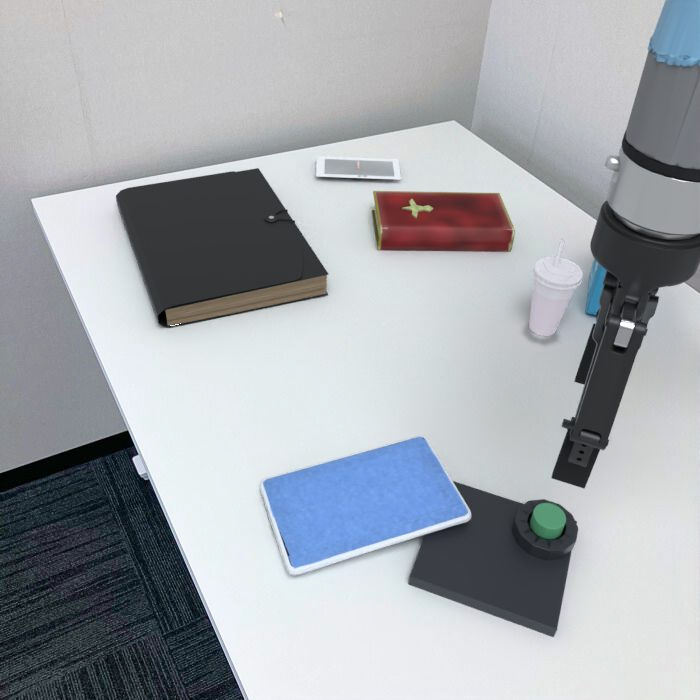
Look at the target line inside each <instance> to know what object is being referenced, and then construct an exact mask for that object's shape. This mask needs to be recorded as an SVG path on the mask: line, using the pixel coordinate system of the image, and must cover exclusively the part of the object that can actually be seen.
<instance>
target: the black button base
mask: <svg viewBox="0 0 700 700" xmlns="http://www.w3.org/2000/svg"><path fill="white" fill-rule="evenodd" d="M452 481H453V483H454V484H455V486H456V488H457V489H458V491H459V492H460V494H461V496H462V497H463V499H464V501H465V502H466V504H467V506H468V507H469V509H470V511H471V519H470V520H469V521H468V522H465V523H462V524H459V525H455V526H451V527H448V528H445V529H442V530H439V531H435V532H432V533H429V534H426V535H423V536H424V537H423V539H422V542H421V544H420V547H419V549H418V553H417V555H416V558H415V561H414V563H413V565H412V569H411V571H410V574H409V578H408V584H407V585H409V586H410V587H414V588H417V589H420V590H422V591H425V592H428V593H431V594H433V595H436V596H439V597H441V598H444V599H447V600H449V601H452V602H455V603H458V604H460V605H464V606H465V607H469V608H472V609H474V610H477V611H480V612H483V613H485V614H487V615H488V614H489V615H491V616H493V617H496V618H499V619H501V620H504V621H507V622H510V623H513V624H516V625H518V626H521V627H524V628H527V629H529V630H532V631H535V632H537V633H540V634H543V635H545V636H548V637H551V638H554V637H555V636H556V633H557V631H558V626H559V622H560V615H561V610H562V604H563V600H564V594H565V588H566V583H567V578H568V572H569V567H570V562H571V557H572V551H573V549H574V547H575V545H576V542H577V540H578V539H577V538H578V533H579V526H578V521H577V520H575V518H574V515H573V514H572V513H571V512H570V511H569V510H568V509H566V508H565V507H564V506H563V505H561V504H560V503H558V502H554V501H551V500H549V499H545V498H543V499H541V498H540V499H532V500H528V501H526V502H524V503H522V502H520V501H516V500H513V499H510V498H508V497H503V496H501V495H498V494H495V493H491V492H489V491H485V490H482V489H480V488H475V487H473V486H470V485H467V484H465V483H461V482H458V481H455V480H452ZM541 503H551V504H554V505H556V506H558V507H559V508H561V509H562V510H563V512H564V513H565V516H566V523H565V525H564V528H563V531H562V533H561V535H560V536H559V537H557V538H555V539H544V538H541V537H539V536H538V535H536V534H535V533H534V532H533V531H532V529H531V526H530V520H531V517H532V514H533V511H534V508H535V507H536V506H537V505H539V504H541Z"/></svg>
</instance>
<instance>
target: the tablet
mask: <svg viewBox="0 0 700 700" xmlns="http://www.w3.org/2000/svg"><path fill="white" fill-rule="evenodd" d="M453 481H454V480H453V479H452V478H451V476H450V474H449V473H448V471H447V469H446V467H445V466H444V465H443V463H442V461H441V460H440V458H439V456H438V454H437V453H436V451H435V449H434V448H433V446H432V444H431V443H430V441H429V439H428V438H426V437H425V436H422V435H417V436H413V437H409V438H405V439H402V440H399V441H395V442H392V443H388V444H385V445H381V446H377V447H374V448H369V449H367V450H363V451H359V452H356V453H351V454H348V455H344V456H342V457H341V456H340V457H337V458H333V459H330V460H326V461H324V462H320V463H316V464H312V465H308V466H306V467H302V468H298V469H294V470H291V471H287V472H284V473H280V474H276V475H273V476H269V477H266V478H264V479H262V480H261V482H260V483H259V491H260V495H261V498H262V500H263V504H264V507H265V511H266V513H267V516H268V519H269V522H270V525H271V528H272V531H273V535H274V537H275V541H276V543H277V546H278V549H279V552H280V555H281V558H282V561H283V565H284V567H285V569H286V572H287V573H288V574H289V575H290V576H294V577H295V576H301V575H304V574H307V573H310V572H313V571H315V570H318V569H322V568H324V567H327V566H330V565H331V566H332V565H334V564H335V563H339V562H343V561H345V560H349V559H352V558H355V557H359V556H361V555H364V554H368V553H371V552H374V551H376V550H381V549H383V548H388V547H390V546H394V545H397V544H400V543H403V542H406V541H409V540H413V539H415V538H416V539H417V538H419V537H423V536H425V535H426V534H429V533H432V532H435V531H439V530H442V529H445V528H448V527H451V526H455V525H459V524H462V523H465V522H468V521H469V520H470V519H471V511H470V509H469V507H468V506H467V504H466V502H465V501H464V499H463V497H462V496H461V494H460V492H459V491H458V489H457V488H456V486H455V484H454V483H453Z"/></svg>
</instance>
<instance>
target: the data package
mask: <svg viewBox="0 0 700 700" xmlns="http://www.w3.org/2000/svg"><path fill="white" fill-rule="evenodd" d="M605 274H606V270H605V269H604V268H602V267H601V266H600V265H599V264H598V263H597V261H596V260H595V259H594V258H593V262H592V266H591V269H590V273H589V280H588V287H587V296H586V304H585V305H586V306H585V313H586V314H588V315H593V316H596V313H597V311H598V309H600V305H599V299H600V295H601V292H602V289H603V286H604V285H603V281H604V277H605Z"/></svg>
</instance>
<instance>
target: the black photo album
mask: <svg viewBox="0 0 700 700" xmlns="http://www.w3.org/2000/svg"><path fill="white" fill-rule="evenodd" d="M115 201H116V205H117V208H118V210H119V214H120V216H121V218H122V220H121V221H122V223H123V226H124V228H125V231H126V234H127V237H128V240H129V242H130V245H131V248H132V251H133V255H134V257H135V260H136V263H137V265H138V269H139V272H140V274H141V278H142V280H143V283H144V286H145V289H146V292H147V295H148V297H149V301H150V304H151V307H152V310H153V312H154V314H155V318H156V321H157V324H159V325H161V326H162V327H164V328H165V327H166V328H172V327H171V326H170V325H175V324H179V325H181V326H186V325H190V324H195V323H199V322H205V321H208V320H215V319H219V318H223V317H229V316H232V315H237V314H238V315H239V314H242V313H246V312H251V311H256V310H262V309H266V308H271V307H275V306H281V305H286V304H290V303H294V302H299V301H303V300H309V299H314V298H319V297H323V296H328V295H329V293H328V289H327V284H328V283H327V282H328V280H327V279H328V276H329V272H328V271H327V269H326V268H325V266H324V265H323V263H322V262H321V260H320V259H319V257H318V255H317V254H316V253H315V251H314V250H313V248H312V247H311V245H310V243H309V242H308V241H307V239H306V237H305V236H304V235H303V233H302V231H301V230H300V229H299V227H298V226H297V224H296V220H294V219H293V218H292V216H291V215H290V213H289V211H288V209H286V207H285V206H284V204H283V203H282V202H281V200H280V199H279V197H278V195H277V193H276V192H275V191H274V189H273V188H272V187H271V185H270V183H269V182H268V180H267V179H266V177H265V176H264V174H263V172H262V171H261V170H260V168H259V167H257V168H250V169H245V170H237V171H235V170H233V171H225V172H219V173H218V172H217V173H213V174H205V175H200V176H194V177H193V176H192V177H188V178H182V179H175V180H169V181H163V182H155V183H150V184H143V185H137V186H130V187H126V188H123V189H122V190H120V191H119V192H117V194H116V195H115ZM180 323H181V324H180ZM185 324H186V325H185ZM176 327H178V326H177V325H176Z"/></svg>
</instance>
